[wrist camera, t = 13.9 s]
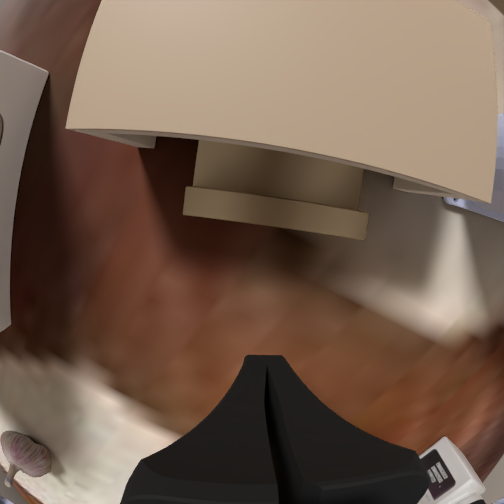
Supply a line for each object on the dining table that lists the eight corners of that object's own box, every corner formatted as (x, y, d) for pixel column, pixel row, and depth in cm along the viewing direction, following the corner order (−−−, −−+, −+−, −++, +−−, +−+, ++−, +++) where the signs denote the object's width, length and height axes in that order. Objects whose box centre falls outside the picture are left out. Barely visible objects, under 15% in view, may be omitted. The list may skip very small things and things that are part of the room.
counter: (418, 62, 17) (489, 20, 8) (407, 192, 19) (490, 203, 11) (167, 14, 16) (129, -58, 8) (137, 147, 18) (65, 128, 10)
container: (389, 474, 26) (423, 560, 13) (444, 434, 24) (495, 514, 12) (414, 487, 27) (445, 558, 14) (462, 451, 26) (504, 518, 13)
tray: (381, 79, 17) (417, 54, 12) (362, 233, 20) (396, 251, 14) (202, 48, 17) (188, 10, 12) (177, 207, 19) (152, 217, 14)
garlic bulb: (59, 449, 25) (32, 495, 17) (53, 471, 26) (31, 510, 18) (9, 412, 24) (-24, 450, 16) (8, 438, 25) (-19, 473, 17)
